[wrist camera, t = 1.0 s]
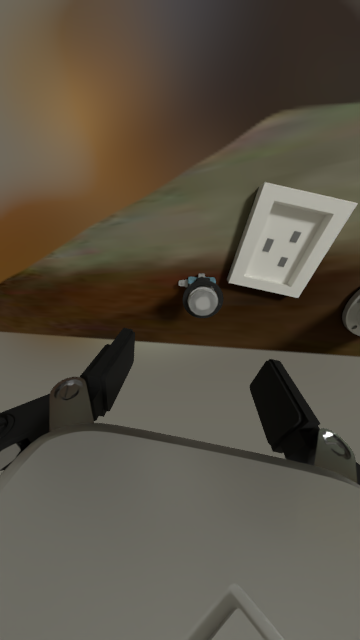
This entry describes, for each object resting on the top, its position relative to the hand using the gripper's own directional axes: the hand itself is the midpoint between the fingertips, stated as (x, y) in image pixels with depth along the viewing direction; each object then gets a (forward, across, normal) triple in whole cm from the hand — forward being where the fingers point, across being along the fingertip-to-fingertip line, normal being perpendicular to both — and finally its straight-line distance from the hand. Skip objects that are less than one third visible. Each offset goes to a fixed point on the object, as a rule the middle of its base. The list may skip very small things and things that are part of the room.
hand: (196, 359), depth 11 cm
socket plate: (+20, -11, -8) cm, 24 cm away
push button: (+20, 0, 0) cm, 20 cm away
